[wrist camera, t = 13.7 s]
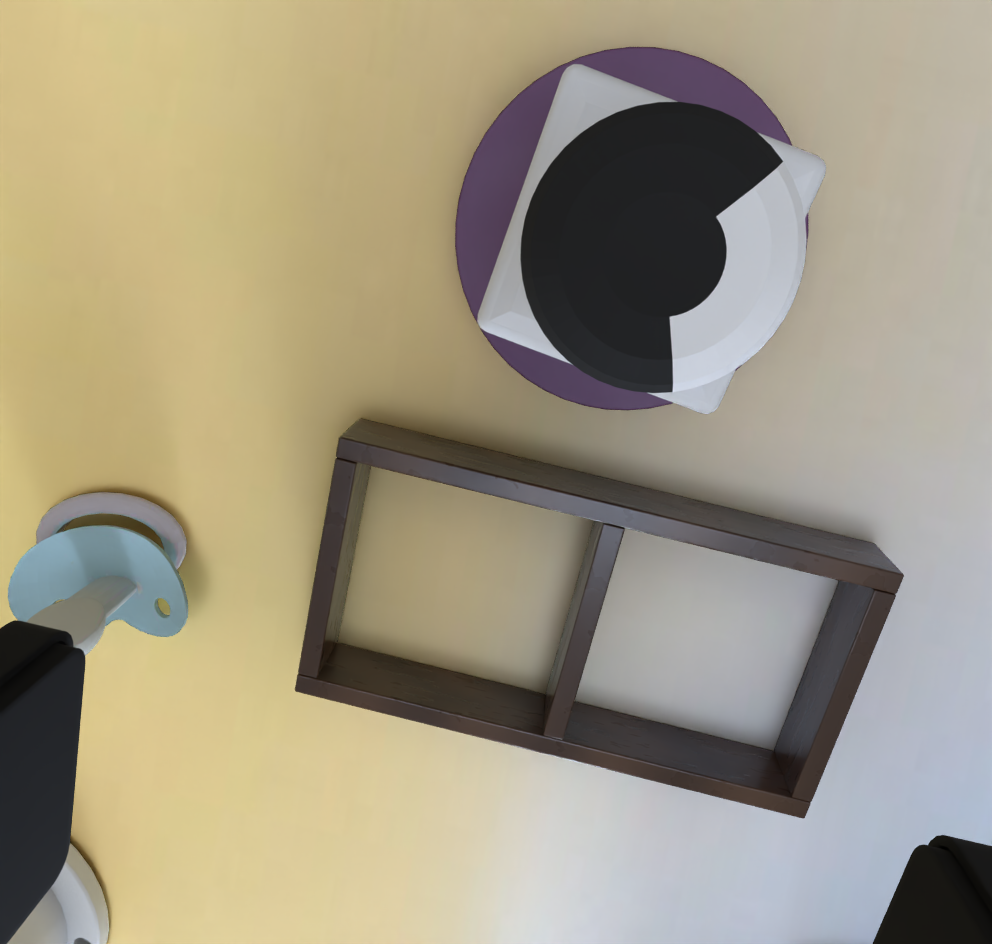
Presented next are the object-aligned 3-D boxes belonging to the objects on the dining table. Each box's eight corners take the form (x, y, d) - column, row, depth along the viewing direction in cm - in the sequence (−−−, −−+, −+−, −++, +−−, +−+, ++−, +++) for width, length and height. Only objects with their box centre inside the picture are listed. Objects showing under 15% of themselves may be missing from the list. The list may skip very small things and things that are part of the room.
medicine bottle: (495, 303, 30) (445, 356, 18) (569, 97, 28) (565, 9, 16) (683, 375, 30) (751, 471, 18) (771, 174, 28) (910, 142, 16)
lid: (429, 363, 32) (424, 367, 31) (499, 15, 28) (496, 7, 27) (740, 438, 31) (745, 445, 30) (851, 97, 28) (862, 92, 27)
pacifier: (27, 489, 35) (53, 622, 36) (-88, 539, 29) (-51, 696, 30) (196, 485, 34) (216, 621, 36) (114, 536, 28) (142, 697, 30)
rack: (316, 654, 36) (294, 691, 33) (359, 417, 32) (338, 436, 30) (786, 771, 35) (804, 819, 32) (875, 543, 32) (905, 575, 29)
